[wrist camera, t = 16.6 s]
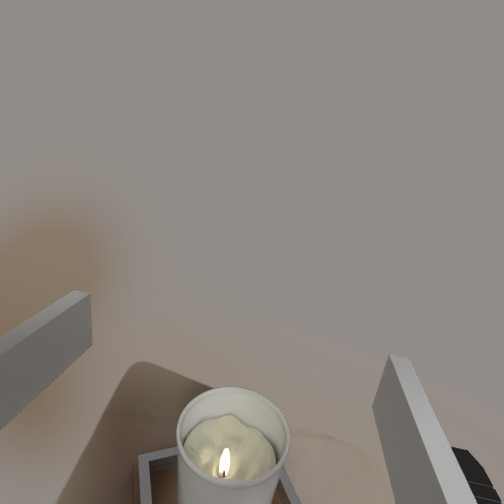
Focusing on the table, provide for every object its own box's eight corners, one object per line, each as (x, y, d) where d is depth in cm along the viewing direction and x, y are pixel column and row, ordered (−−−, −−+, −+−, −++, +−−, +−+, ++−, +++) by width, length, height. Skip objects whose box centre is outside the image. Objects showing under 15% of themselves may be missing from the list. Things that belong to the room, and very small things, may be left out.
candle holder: (201, 457, 38) (210, 373, 34) (281, 494, 35) (301, 408, 31) (147, 548, 29) (151, 449, 25) (248, 608, 26) (270, 508, 22)
